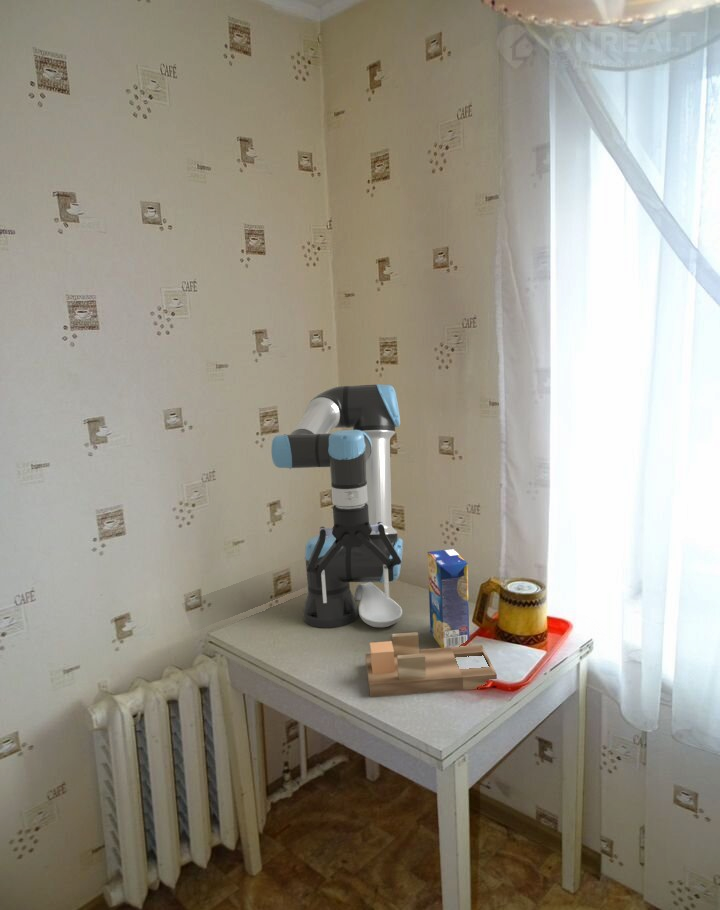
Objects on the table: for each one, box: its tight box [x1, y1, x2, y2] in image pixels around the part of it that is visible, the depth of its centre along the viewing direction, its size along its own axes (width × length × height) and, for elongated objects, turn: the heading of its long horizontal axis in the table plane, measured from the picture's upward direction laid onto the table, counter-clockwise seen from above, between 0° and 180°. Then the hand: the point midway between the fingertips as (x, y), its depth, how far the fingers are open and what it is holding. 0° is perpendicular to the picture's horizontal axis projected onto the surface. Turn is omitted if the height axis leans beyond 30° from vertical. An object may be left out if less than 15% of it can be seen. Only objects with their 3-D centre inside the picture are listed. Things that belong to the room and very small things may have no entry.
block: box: [369, 640, 395, 674], centre depth 153 cm, size 5×5×5 cm
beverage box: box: [427, 548, 470, 648], centre depth 170 cm, size 7×11×22 cm, turn 11°
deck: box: [365, 631, 498, 698], centre depth 154 cm, size 14×28×8 cm, turn 93°
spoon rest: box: [353, 582, 403, 628], centre depth 188 cm, size 24×12×7 cm, turn 18°
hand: (355, 597), depth 147 cm, fingers open, 13 cm apart
